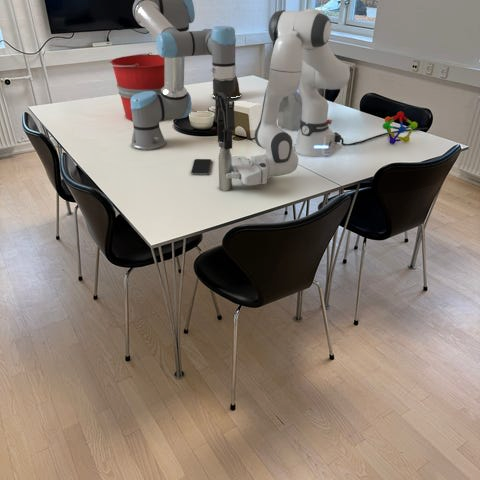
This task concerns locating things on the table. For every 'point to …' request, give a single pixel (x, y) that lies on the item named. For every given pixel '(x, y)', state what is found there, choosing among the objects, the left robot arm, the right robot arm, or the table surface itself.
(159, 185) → the table surface
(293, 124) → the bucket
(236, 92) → the bell
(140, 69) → the bucket
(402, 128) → the educational toy
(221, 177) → the bottle
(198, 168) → the smartphone
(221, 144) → the cap
